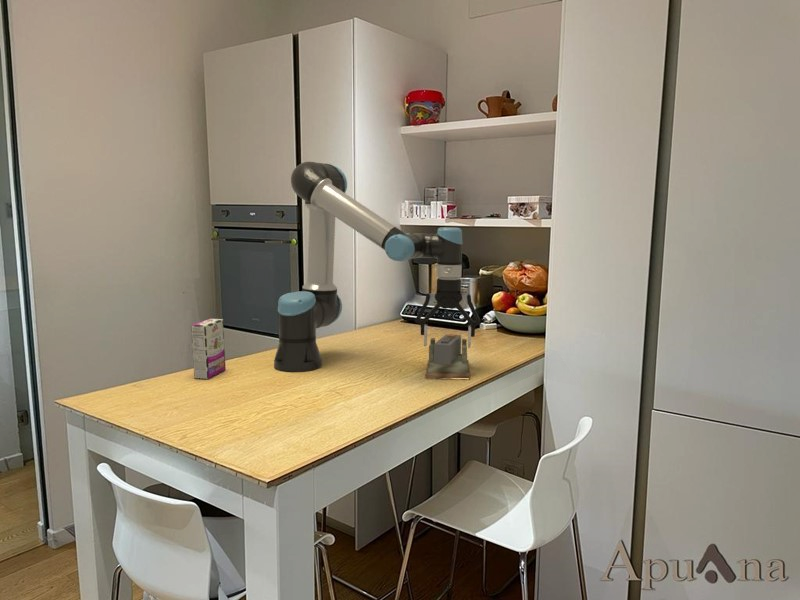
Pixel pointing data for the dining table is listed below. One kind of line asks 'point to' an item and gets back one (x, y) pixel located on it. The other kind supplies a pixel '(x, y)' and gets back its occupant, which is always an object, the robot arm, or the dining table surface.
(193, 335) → the candy bar box
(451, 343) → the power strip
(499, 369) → the dining table surface
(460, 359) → the rack
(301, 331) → the robot arm
